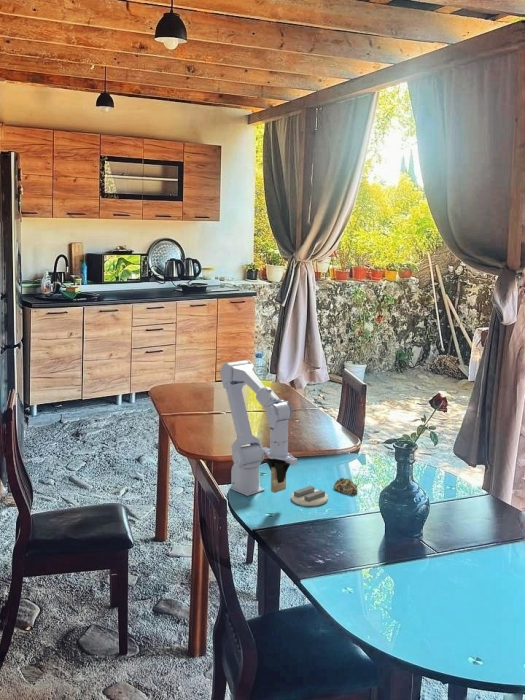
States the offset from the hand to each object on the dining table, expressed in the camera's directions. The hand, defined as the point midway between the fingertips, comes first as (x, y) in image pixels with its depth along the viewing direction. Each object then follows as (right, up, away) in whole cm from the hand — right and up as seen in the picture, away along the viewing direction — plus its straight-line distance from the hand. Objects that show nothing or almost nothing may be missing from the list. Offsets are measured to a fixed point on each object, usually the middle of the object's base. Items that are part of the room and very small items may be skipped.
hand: (278, 481), depth 231 cm
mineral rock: (+23, -6, +16) cm, 29 cm away
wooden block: (0, -3, +1) cm, 3 cm away
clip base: (+10, -7, +8) cm, 15 cm away
